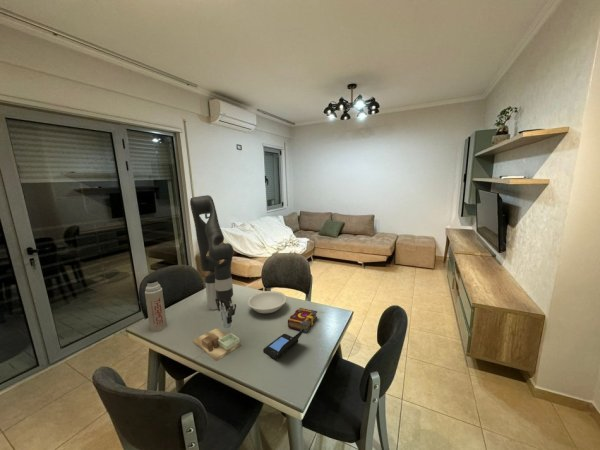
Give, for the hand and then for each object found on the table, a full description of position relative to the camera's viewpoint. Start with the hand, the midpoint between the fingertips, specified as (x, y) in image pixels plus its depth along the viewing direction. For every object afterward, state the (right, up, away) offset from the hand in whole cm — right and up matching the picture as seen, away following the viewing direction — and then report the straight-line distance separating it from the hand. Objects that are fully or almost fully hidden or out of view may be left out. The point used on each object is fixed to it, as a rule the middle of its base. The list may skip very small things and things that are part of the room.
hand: (226, 321), depth 114 cm
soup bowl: (+14, -7, +36) cm, 39 cm away
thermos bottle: (-43, -12, +18) cm, 48 cm away
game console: (+27, -13, 0) cm, 30 cm away
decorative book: (+36, -9, +21) cm, 43 cm away
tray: (0, -12, +2) cm, 12 cm away
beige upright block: (-8, -12, +2) cm, 15 cm away
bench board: (-6, -13, +4) cm, 15 cm away
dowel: (0, -2, 0) cm, 2 cm away
